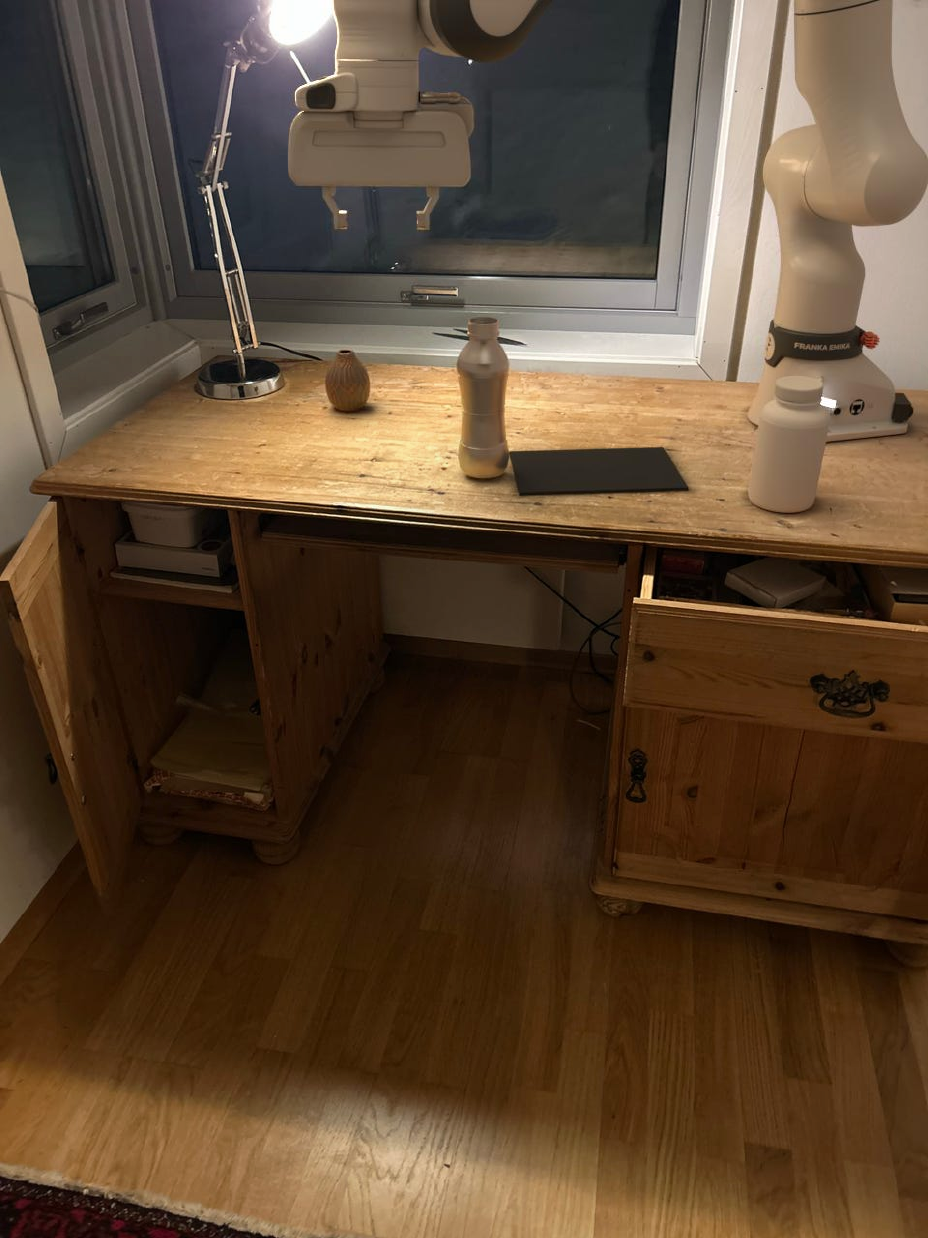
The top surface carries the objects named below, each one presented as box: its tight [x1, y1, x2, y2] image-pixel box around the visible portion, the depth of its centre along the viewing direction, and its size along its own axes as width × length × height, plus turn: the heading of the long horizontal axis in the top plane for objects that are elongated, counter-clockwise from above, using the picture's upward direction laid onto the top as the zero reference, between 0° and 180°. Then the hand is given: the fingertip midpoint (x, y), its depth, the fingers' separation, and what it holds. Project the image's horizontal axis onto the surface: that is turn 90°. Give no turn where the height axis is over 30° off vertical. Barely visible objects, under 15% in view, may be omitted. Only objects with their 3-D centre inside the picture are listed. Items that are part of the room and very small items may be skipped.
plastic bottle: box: [456, 316, 510, 479], centre depth 121 cm, size 6×7×20 cm
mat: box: [509, 446, 689, 496], centre depth 127 cm, size 22×14×1 cm, turn 93°
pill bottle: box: [747, 376, 830, 514], centre depth 114 cm, size 8×8×15 cm
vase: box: [324, 348, 371, 412], centre depth 147 cm, size 7×7×9 cm
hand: (382, 228), depth 110 cm, fingers open, 8 cm apart
